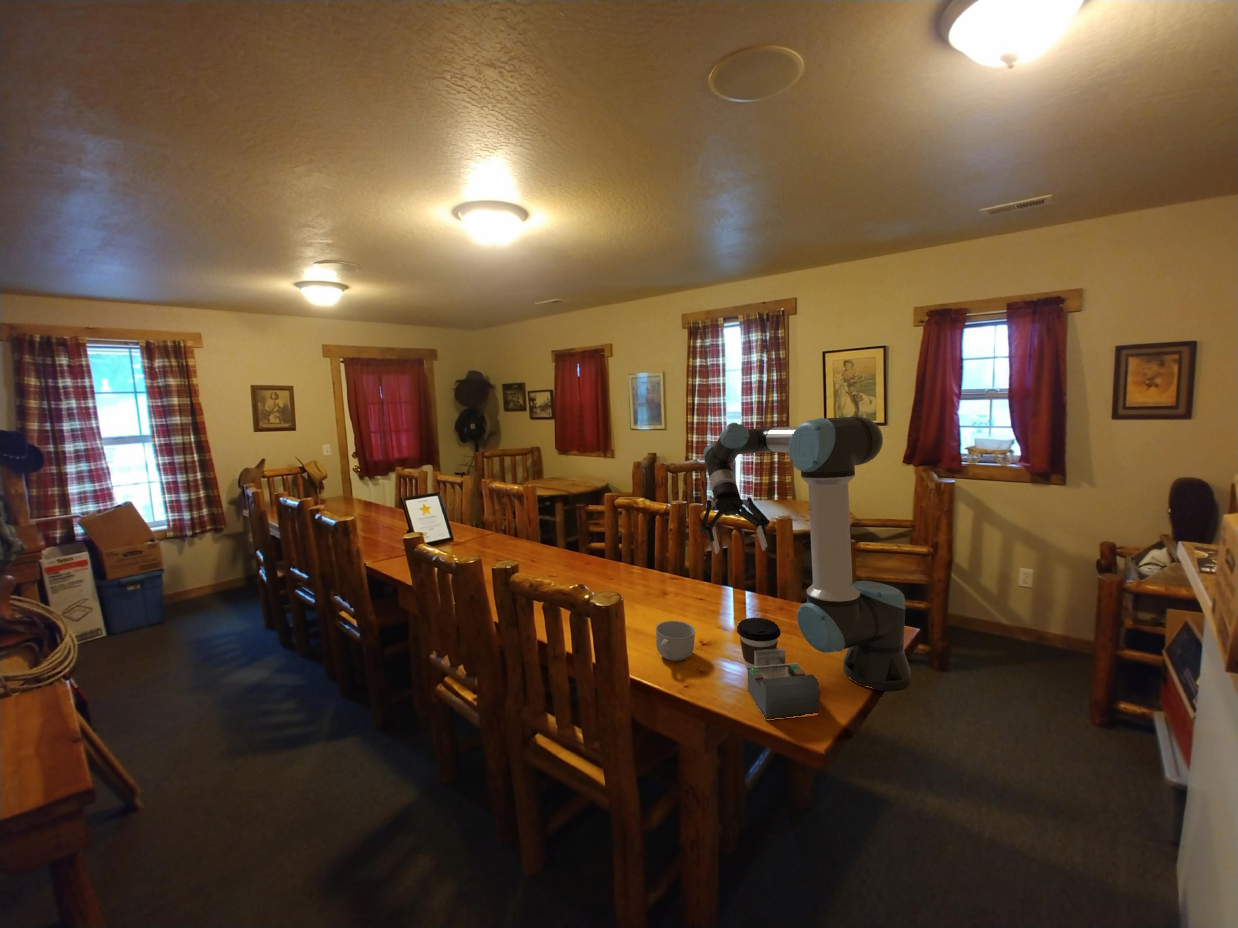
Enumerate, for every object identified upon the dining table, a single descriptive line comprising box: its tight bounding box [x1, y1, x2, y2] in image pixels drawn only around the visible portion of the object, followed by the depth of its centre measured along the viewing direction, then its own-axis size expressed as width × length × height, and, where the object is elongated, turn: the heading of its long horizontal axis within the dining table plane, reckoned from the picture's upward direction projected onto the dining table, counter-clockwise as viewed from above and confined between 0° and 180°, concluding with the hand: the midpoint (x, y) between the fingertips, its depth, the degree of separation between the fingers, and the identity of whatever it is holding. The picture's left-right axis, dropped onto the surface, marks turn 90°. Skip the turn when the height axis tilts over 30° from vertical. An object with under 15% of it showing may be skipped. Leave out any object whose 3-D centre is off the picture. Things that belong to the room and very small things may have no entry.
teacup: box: [655, 620, 696, 662], centre depth 140 cm, size 14×11×8 cm
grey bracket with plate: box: [752, 647, 799, 679], centre depth 122 cm, size 6×11×8 cm, turn 95°
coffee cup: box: [736, 617, 782, 671], centre depth 132 cm, size 11×11×12 cm
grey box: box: [747, 664, 820, 720], centre depth 117 cm, size 12×12×8 cm
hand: (741, 549), depth 143 cm, fingers open, 13 cm apart
